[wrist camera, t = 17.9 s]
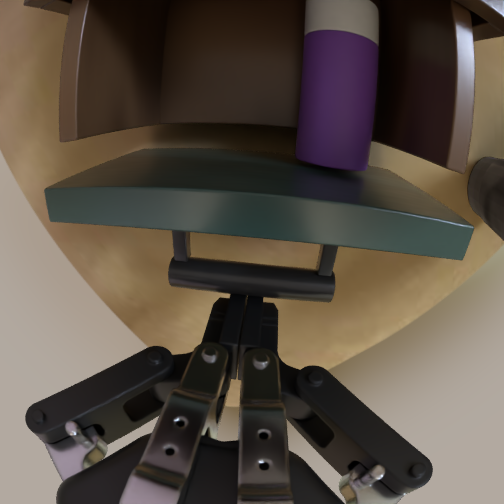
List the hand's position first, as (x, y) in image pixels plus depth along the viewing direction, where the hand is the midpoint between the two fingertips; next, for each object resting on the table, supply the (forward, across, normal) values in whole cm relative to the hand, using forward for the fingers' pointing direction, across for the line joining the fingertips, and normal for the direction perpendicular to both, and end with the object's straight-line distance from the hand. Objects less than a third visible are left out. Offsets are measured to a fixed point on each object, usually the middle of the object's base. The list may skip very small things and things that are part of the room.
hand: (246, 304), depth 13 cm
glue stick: (+2, -2, -11) cm, 11 cm away
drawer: (+4, 0, -11) cm, 11 cm away
